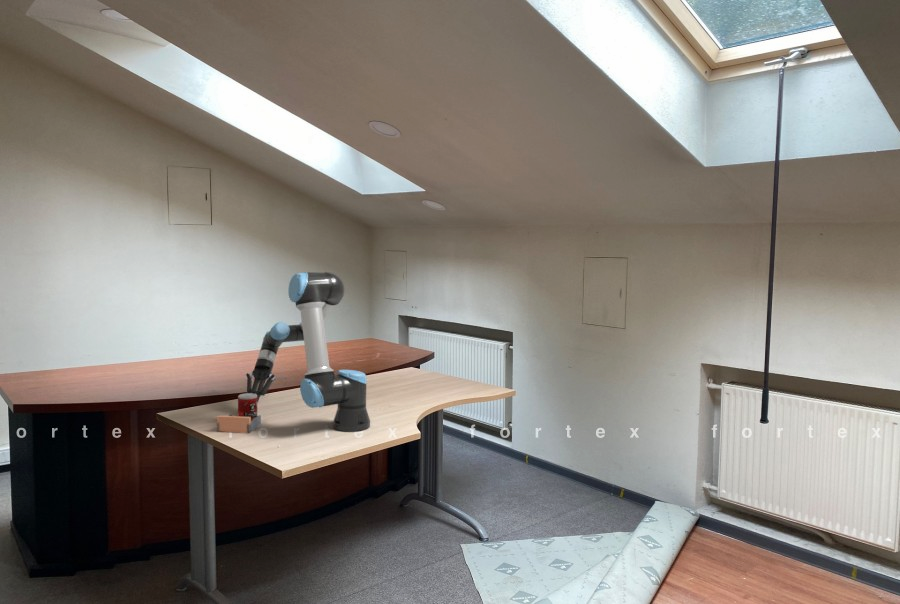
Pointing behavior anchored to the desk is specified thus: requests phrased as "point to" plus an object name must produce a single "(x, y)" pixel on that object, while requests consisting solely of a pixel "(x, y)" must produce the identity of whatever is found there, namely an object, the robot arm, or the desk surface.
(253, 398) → the canned food
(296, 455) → the desk surface
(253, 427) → the bracket
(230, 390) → the desk surface
